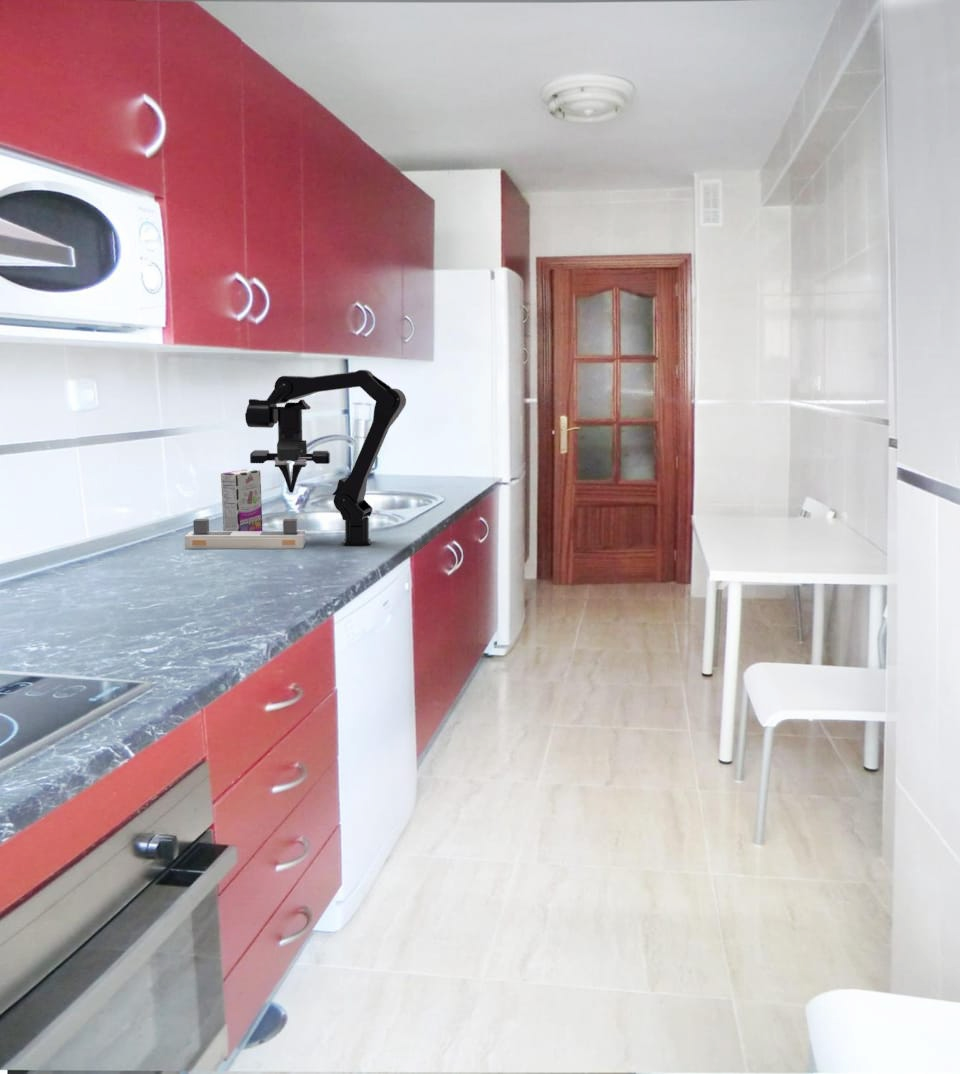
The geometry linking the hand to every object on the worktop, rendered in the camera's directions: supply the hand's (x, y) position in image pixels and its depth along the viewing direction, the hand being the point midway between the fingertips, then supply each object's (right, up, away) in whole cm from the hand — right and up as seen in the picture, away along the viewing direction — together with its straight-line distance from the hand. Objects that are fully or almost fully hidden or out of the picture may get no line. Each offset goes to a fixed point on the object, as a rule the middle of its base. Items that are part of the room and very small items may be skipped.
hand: (291, 492), depth 227 cm
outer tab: (-20, -10, -8) cm, 23 cm away
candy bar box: (-14, -11, +8) cm, 20 cm away
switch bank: (-9, -13, -6) cm, 17 cm away
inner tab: (+1, -10, -6) cm, 11 cm away
